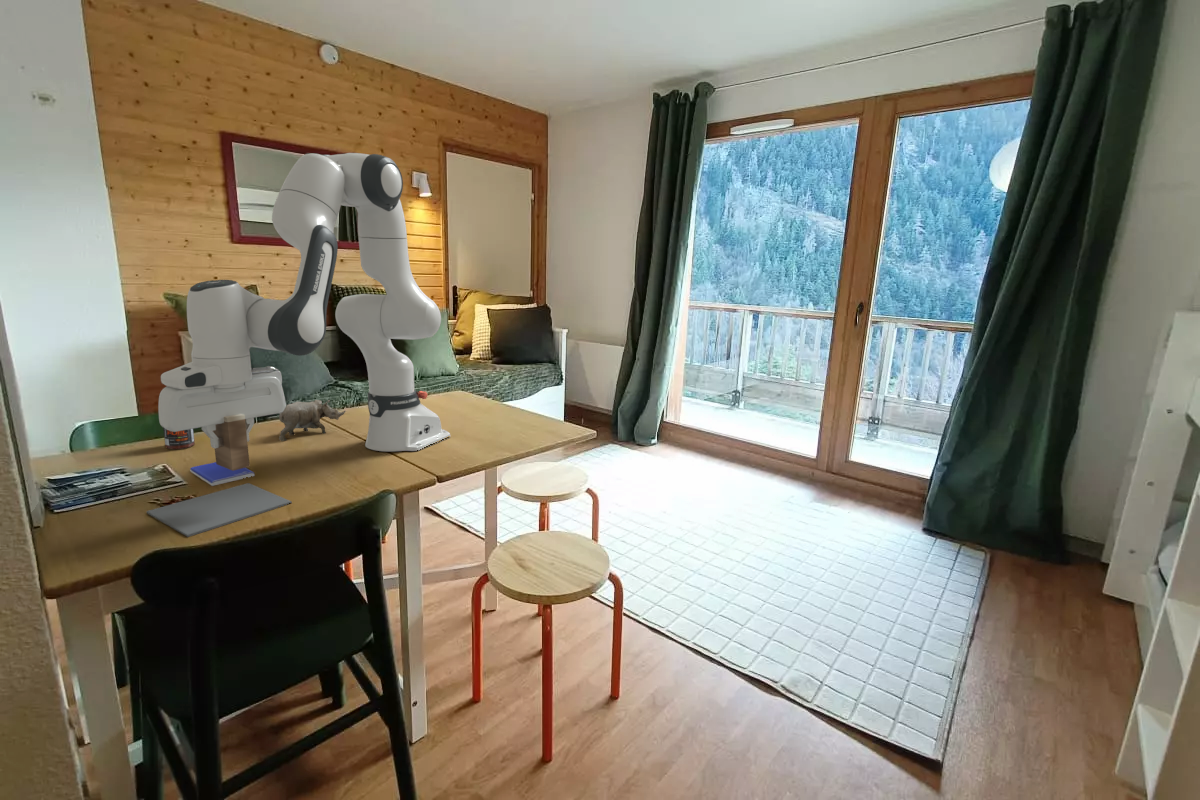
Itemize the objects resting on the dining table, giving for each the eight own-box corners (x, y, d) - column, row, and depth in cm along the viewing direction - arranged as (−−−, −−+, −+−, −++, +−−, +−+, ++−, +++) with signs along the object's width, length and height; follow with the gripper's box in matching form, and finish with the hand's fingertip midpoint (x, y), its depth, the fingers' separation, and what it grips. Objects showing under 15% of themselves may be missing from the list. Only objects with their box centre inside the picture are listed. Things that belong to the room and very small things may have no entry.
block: (233, 460, 109) (228, 409, 107) (249, 466, 106) (244, 414, 104) (216, 464, 107) (210, 412, 105) (232, 470, 104) (227, 417, 102)
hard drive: (254, 471, 124) (231, 458, 132) (211, 481, 118) (189, 467, 125) (254, 478, 125) (231, 465, 132) (212, 488, 118) (190, 473, 126)
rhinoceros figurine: (259, 427, 151) (293, 380, 154) (305, 447, 161) (336, 402, 164) (268, 436, 146) (303, 387, 149) (315, 456, 156) (346, 410, 159)
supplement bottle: (166, 451, 137) (160, 406, 135) (164, 445, 142) (158, 401, 139) (196, 447, 141) (190, 403, 139) (194, 441, 145) (188, 398, 143)
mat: (248, 484, 120) (248, 482, 119) (291, 503, 111) (291, 501, 111) (146, 513, 105) (146, 511, 104) (187, 537, 96) (187, 534, 96)
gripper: (271, 363, 113) (277, 430, 116) (149, 376, 96) (159, 454, 99) (289, 366, 110) (294, 435, 113) (166, 381, 93) (176, 461, 96)
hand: (230, 444), depth 106 cm, fingers closed on block, 3 cm apart
